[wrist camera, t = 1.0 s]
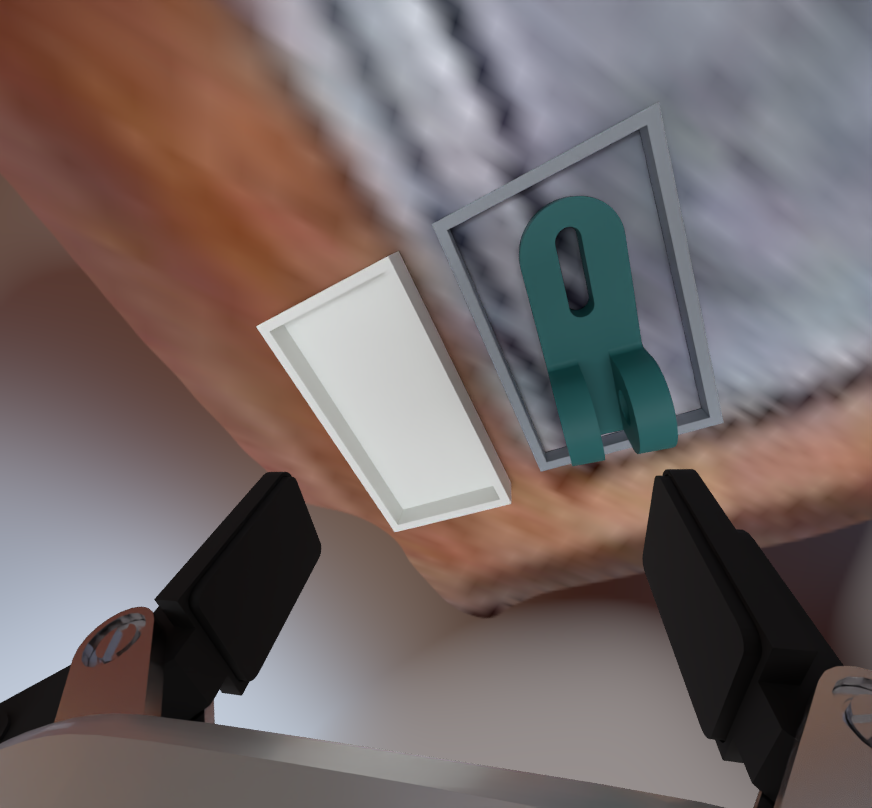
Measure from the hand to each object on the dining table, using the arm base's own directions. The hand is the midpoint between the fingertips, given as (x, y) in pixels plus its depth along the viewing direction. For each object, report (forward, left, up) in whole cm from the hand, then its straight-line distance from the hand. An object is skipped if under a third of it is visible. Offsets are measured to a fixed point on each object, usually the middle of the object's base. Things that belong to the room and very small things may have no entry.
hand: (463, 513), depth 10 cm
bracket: (-6, +4, -23) cm, 24 cm away
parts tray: (+11, +5, -23) cm, 26 cm away
